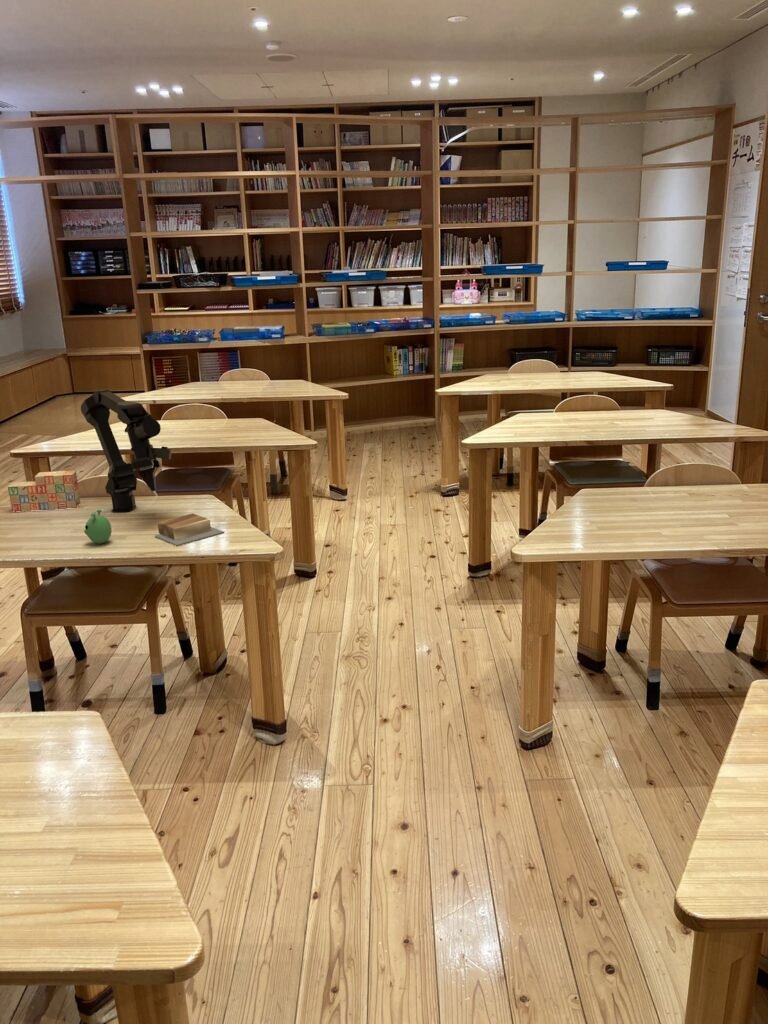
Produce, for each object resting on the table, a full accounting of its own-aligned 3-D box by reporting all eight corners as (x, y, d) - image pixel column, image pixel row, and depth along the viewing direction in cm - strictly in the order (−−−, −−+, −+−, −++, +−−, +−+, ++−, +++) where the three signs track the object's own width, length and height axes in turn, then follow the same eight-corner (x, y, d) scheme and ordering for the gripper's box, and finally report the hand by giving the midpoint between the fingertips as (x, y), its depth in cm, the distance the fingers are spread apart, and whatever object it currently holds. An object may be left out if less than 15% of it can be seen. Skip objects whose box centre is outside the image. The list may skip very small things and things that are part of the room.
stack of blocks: (11, 513, 274) (5, 478, 270) (17, 508, 280) (11, 473, 276) (77, 509, 276) (71, 474, 272) (81, 504, 282) (76, 469, 278)
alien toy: (91, 539, 242) (86, 507, 240) (116, 539, 242) (112, 507, 239) (82, 547, 236) (77, 514, 233) (108, 546, 235) (103, 513, 232)
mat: (154, 537, 242) (154, 535, 242) (201, 524, 253) (201, 523, 253) (177, 546, 233) (176, 544, 233) (224, 533, 244) (224, 531, 244)
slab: (157, 522, 243) (174, 528, 236) (192, 513, 251) (209, 519, 244) (158, 533, 244) (175, 540, 237) (193, 524, 252) (211, 530, 245)
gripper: (160, 434, 245) (175, 483, 246) (169, 438, 264) (182, 484, 265) (124, 443, 244) (138, 493, 245) (135, 447, 263) (149, 493, 264)
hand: (153, 491), depth 255 cm, fingers closed
